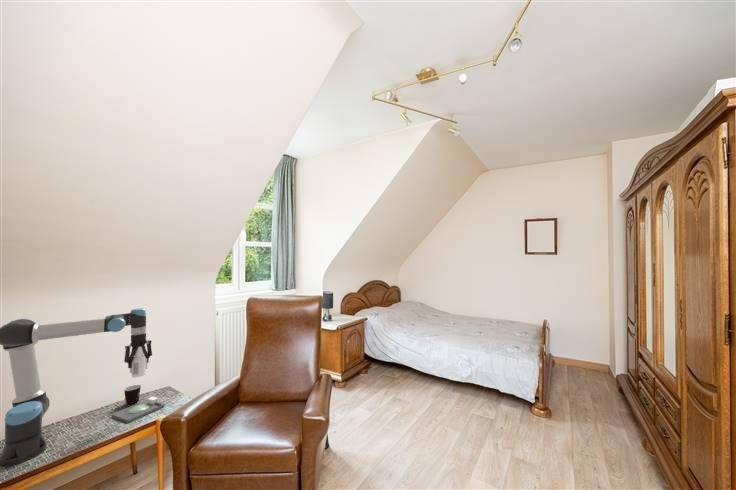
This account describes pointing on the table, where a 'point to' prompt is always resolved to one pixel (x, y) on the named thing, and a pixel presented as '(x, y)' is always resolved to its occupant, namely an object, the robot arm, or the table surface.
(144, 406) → the charging dock
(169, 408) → the table surface
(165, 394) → the table surface
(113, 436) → the table surface
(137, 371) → the spray bottle
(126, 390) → the coffee mug
